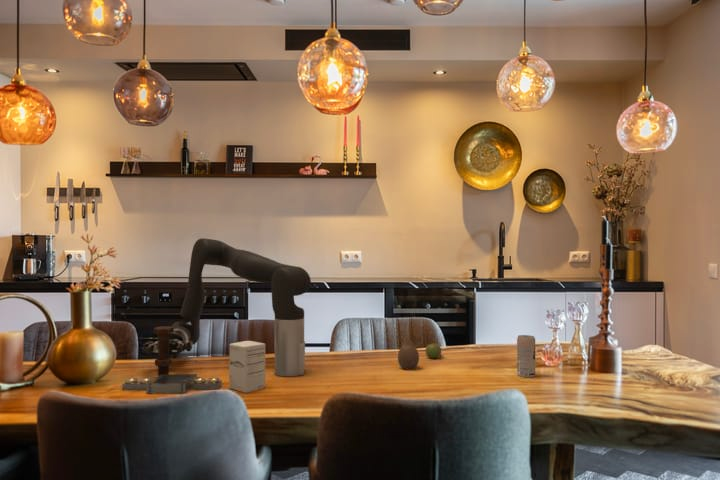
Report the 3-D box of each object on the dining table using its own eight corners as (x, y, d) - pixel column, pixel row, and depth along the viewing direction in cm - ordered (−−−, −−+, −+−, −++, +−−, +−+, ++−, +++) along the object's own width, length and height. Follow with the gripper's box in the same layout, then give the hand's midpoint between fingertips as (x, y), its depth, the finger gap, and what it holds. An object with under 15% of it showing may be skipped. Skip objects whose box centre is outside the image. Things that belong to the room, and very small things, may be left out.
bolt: (165, 379, 158) (165, 329, 158) (150, 378, 159) (150, 328, 159) (176, 374, 164) (176, 326, 164) (161, 374, 165) (161, 325, 165)
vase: (394, 369, 171) (394, 342, 171) (401, 365, 177) (401, 338, 177) (415, 371, 168) (415, 343, 168) (421, 366, 175) (421, 340, 175)
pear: (424, 343, 186) (427, 343, 196) (424, 358, 186) (427, 357, 195) (440, 343, 185) (442, 343, 195) (440, 359, 184) (442, 358, 194)
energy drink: (536, 374, 164) (536, 335, 164) (534, 378, 159) (534, 338, 159) (518, 372, 166) (518, 334, 166) (515, 376, 161) (515, 337, 162)
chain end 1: (195, 382, 155) (195, 373, 155) (183, 393, 143) (183, 383, 143) (133, 383, 154) (133, 374, 154) (116, 394, 143) (116, 384, 143)
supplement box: (228, 388, 148) (228, 343, 148) (249, 383, 154) (249, 339, 154) (244, 393, 143) (244, 346, 143) (266, 387, 149) (266, 342, 149)
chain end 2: (224, 382, 155) (224, 373, 155) (215, 393, 144) (215, 383, 144) (163, 382, 154) (163, 373, 154) (148, 393, 143) (148, 384, 143)
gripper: (152, 330, 177) (138, 338, 161) (196, 329, 178) (187, 337, 162) (152, 353, 177) (138, 363, 160) (196, 351, 178) (187, 362, 162)
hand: (163, 350), depth 161 cm, fingers open, 8 cm apart
